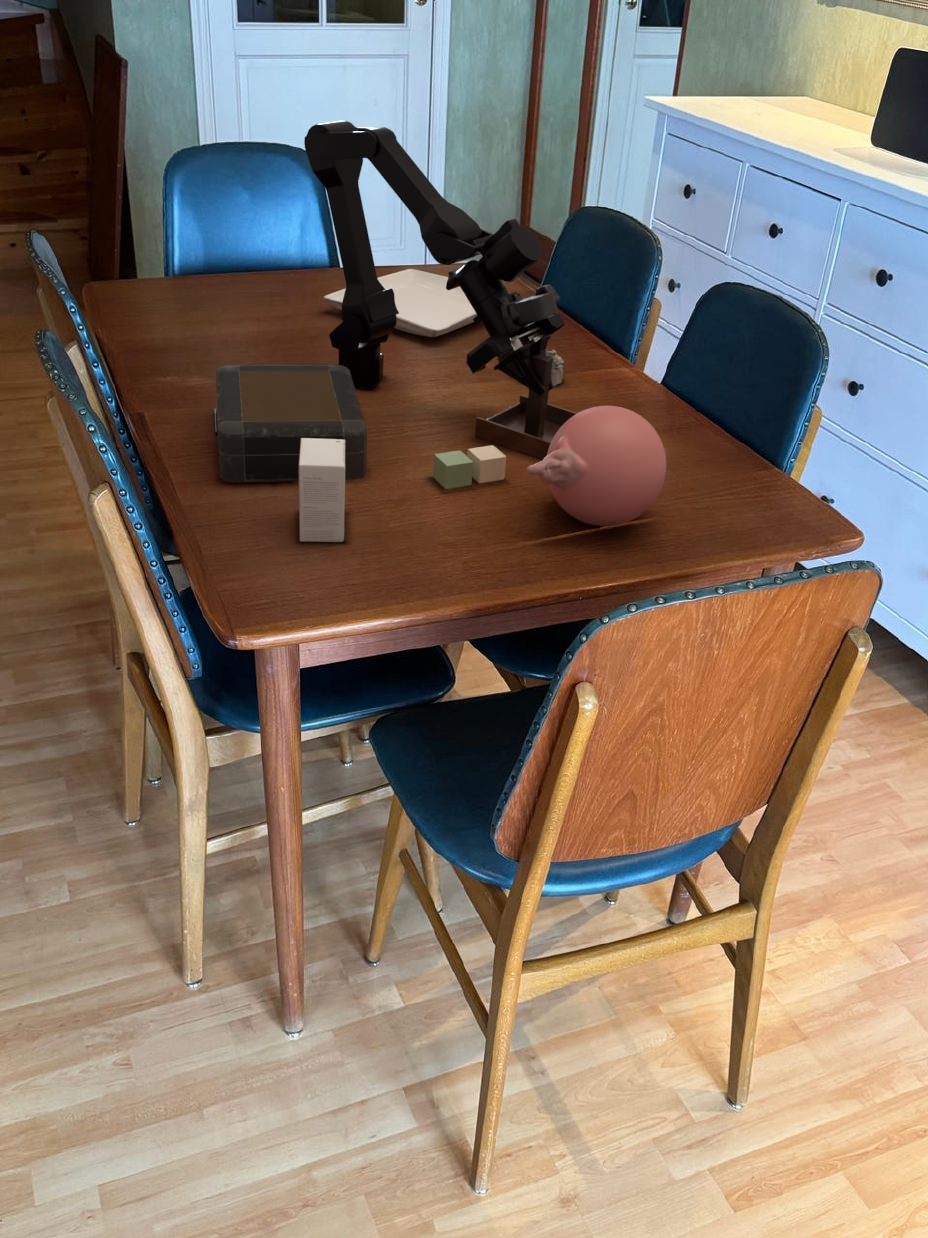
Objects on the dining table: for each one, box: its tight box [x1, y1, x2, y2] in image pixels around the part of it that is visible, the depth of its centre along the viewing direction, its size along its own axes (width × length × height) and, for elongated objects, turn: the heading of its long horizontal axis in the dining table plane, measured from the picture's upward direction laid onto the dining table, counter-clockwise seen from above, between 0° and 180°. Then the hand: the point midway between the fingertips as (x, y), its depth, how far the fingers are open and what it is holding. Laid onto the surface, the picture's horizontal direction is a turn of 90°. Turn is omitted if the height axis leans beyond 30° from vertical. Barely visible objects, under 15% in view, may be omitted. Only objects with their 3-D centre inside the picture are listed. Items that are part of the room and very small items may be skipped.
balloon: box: [526, 405, 667, 527], centre depth 142 cm, size 15×20×15 cm
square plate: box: [323, 268, 477, 338], centre depth 213 cm, size 27×27×4 cm
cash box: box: [212, 364, 368, 484], centre depth 157 cm, size 25×20×8 cm
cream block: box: [466, 444, 507, 484], centre depth 154 cm, size 4×4×4 cm
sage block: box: [432, 450, 473, 490], centre depth 151 cm, size 4×4×4 cm
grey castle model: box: [546, 348, 565, 387], centre depth 189 cm, size 11×8×4 cm
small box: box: [298, 438, 346, 543], centre depth 137 cm, size 8×6×10 cm
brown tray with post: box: [474, 354, 578, 461], centre depth 163 cm, size 13×13×12 cm
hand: (546, 391), depth 162 cm, fingers closed on brown tray with post
